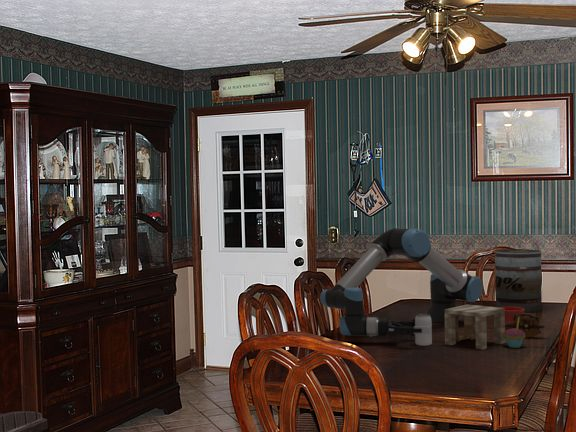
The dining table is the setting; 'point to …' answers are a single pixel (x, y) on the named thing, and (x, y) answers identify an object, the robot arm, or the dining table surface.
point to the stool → (480, 318)
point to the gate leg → (466, 328)
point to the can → (423, 321)
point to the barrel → (518, 279)
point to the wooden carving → (526, 324)
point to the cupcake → (514, 336)
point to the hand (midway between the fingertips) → (431, 327)
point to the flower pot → (511, 313)
